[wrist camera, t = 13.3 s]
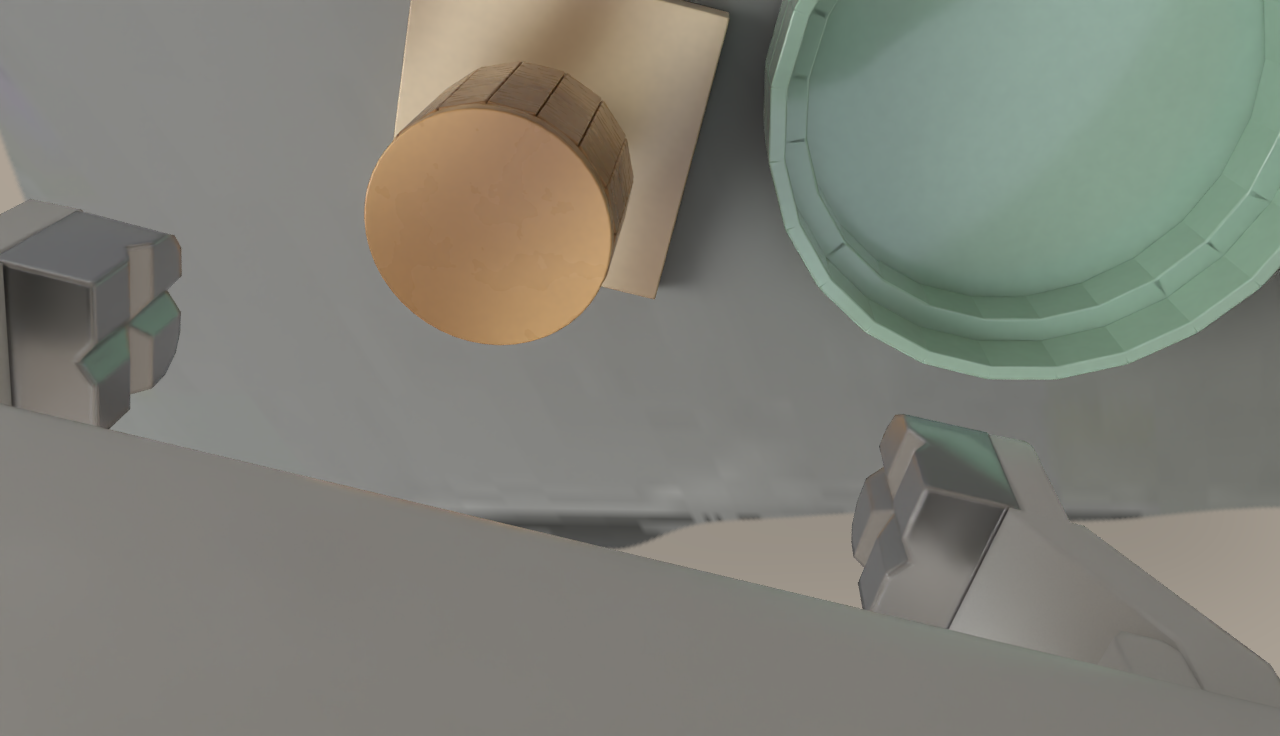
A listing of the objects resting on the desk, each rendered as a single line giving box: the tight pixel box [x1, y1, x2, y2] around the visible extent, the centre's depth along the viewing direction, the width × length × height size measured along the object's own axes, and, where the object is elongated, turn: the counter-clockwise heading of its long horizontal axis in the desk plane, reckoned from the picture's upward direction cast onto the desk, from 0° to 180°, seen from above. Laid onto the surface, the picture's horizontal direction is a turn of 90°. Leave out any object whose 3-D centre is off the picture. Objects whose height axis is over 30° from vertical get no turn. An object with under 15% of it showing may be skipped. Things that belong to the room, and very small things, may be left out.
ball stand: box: [393, 0, 729, 299], centre depth 31 cm, size 10×10×10 cm
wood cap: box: [364, 61, 634, 345], centre depth 28 cm, size 6×6×5 cm
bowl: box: [763, 0, 1280, 380], centre depth 32 cm, size 17×17×4 cm
